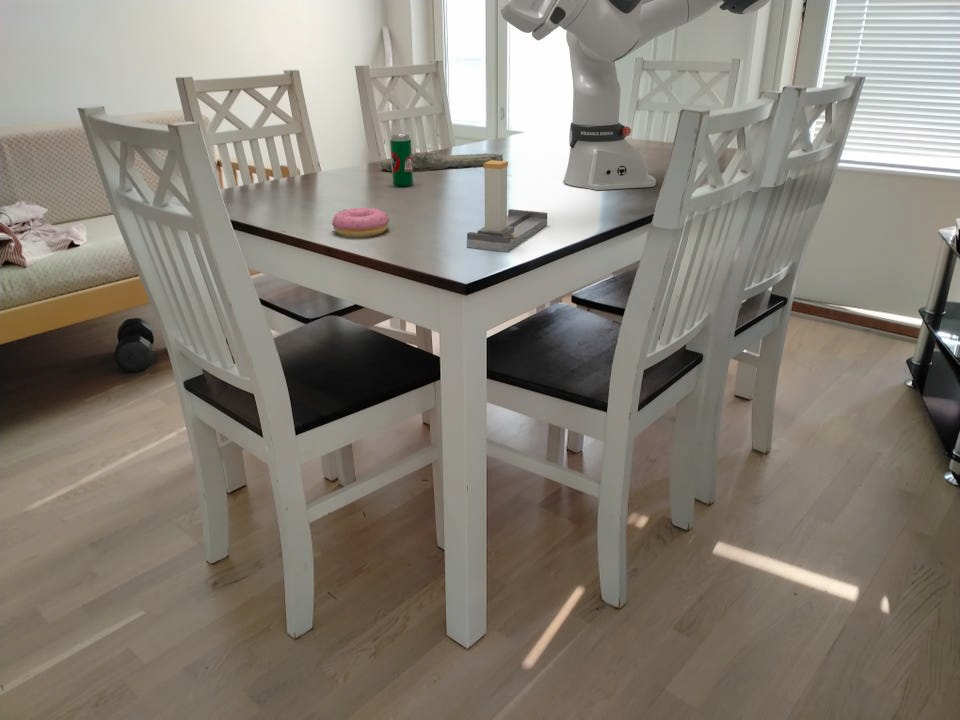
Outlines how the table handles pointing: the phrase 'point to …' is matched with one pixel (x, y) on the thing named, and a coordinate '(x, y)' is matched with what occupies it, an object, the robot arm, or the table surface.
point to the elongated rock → (444, 161)
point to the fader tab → (496, 199)
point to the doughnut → (360, 222)
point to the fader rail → (523, 229)
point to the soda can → (401, 160)
